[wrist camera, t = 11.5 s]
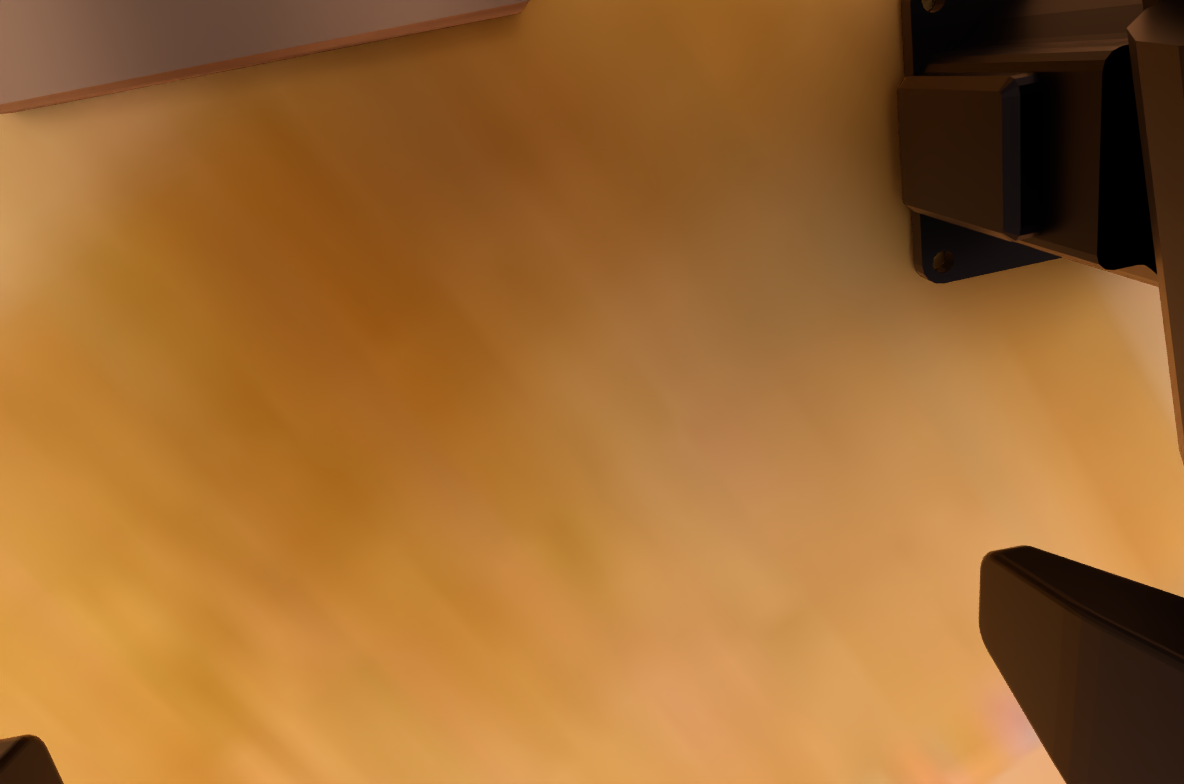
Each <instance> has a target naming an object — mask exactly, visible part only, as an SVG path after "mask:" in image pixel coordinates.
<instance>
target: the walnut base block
mask: <svg viewBox="0 0 1184 784" xmlns="http://www.w3.org/2000/svg"><path fill="white" fill-rule="evenodd" d="M528 2H529V0H0V114H3V113H13V112H18V111H24V110H29V109H34V108H39V107H44V106H49V105H54V104H59V103H64V102H69V101H74V100H80V99H85V98H90V97H95V96H100V95H105V94H110V93H115V92H120V91H125V90H130V89H136V88H141V87H146V86H151V85H156V84H161V83H166V82H171V81H176V80H181V79H186V78H192V77H197V76H202V75H207V74H212V73H217V72H222V71H227V70H232V69H237V68H242V67H248V66H253V65H258V64H263V63H268V62H273V61H278V60H283V59H288V58H293V57H298V56H304V55H309V54H314V53H319V52H324V51H329V50H334V49H339V48H344V47H349V46H354V45H360V44H365V43H370V42H375V41H380V40H385V39H390V38H395V37H400V36H405V35H410V34H416V33H421V32H426V31H431V30H436V29H441V28H446V27H451V26H456V25H461V24H466V23H472V22H477V21H482V20H487V19H492V18H497V17H502V16H507V15H512V14H517V13H521V11H522V10H523V8H524V7H525V6H526V4H527V3H528Z"/></svg>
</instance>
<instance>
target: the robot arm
mask: <svg viewBox="0 0 1184 784" xmlns="http://www.w3.org/2000/svg"><path fill="white" fill-rule="evenodd" d="M901 13H902V33H903V53H904V73H905V78H904V80H903V81H902V83H901V84H900V86H899V88H898V90H897V104H898V123H899V142H900V161H901V180H902V199H903V203H904V204H905V205H906V206H908V207H909V208H910V209H911V214H912V234H913V254H914V265H915V269H916V271H917V273H918V274H919V275H920V276H921V277H923V278H925V279H927V280H930V281H932V282H934V283H948V282H952V281H957V280H961V279H966V278H970V277H975V276H980V275H984V274H989V273H993V272H998V271H1002V270H1007V269H1012V268H1016V267H1021V266H1025V265H1030V264H1034V263H1039V262H1044V261H1048V260H1053V259H1057V258H1062V257H1064V258H1067V259H1070V260H1073V261H1076V262H1080V263H1083V264H1086V265H1089V266H1093V267H1096V268H1099V269H1102V270H1105V271H1109V272H1112V273H1115V274H1118V275H1122V276H1125V277H1128V278H1131V279H1134V280H1138V281H1141V282H1144V283H1147V284H1151V285H1154V286H1157V287H1159V292H1160V300H1161V308H1162V316H1163V324H1164V332H1165V340H1166V348H1167V356H1168V364H1169V372H1170V380H1171V388H1172V396H1173V404H1174V412H1175V420H1176V428H1177V436H1178V444H1179V451H1180V454H1181V458H1182V461H1183V464H1184V0H936V2H935V6H934V7H933V8H932V10H931V11H929V12H928V11H926V10H925V9H924V8H923V5H922V0H902V2H901ZM942 251H944V253H945V261H944V263H943V264H942V265H941V267H939V268H937V269H934V267H933V260H934V257H935V256H936V255H937V254H938V253H940V252H942ZM979 628H980V633H981V636H982V640H983V642H984V645H985V647H986V649H987V650H988V652H989V654H990V656H991V657H992V659H993V661H994V662H995V664H996V666H997V668H998V669H999V671H1000V673H1001V674H1002V676H1003V678H1004V679H1005V681H1006V683H1007V685H1008V686H1009V688H1010V690H1011V691H1012V693H1013V695H1014V697H1015V698H1016V700H1017V702H1018V703H1019V705H1020V707H1021V708H1022V710H1023V712H1024V714H1025V715H1026V717H1027V719H1028V720H1029V722H1030V724H1031V726H1032V727H1033V729H1034V731H1035V732H1036V734H1037V736H1038V738H1039V739H1040V741H1041V743H1042V744H1043V746H1044V748H1045V749H1046V751H1047V753H1048V755H1049V756H1050V758H1051V760H1052V761H1053V763H1054V765H1055V766H1056V768H1057V769H1058V771H1059V773H1060V774H1061V776H1062V777H1063V779H1064V781H1065V782H1066V784H1184V598H1183V597H1180V596H1177V595H1174V594H1172V593H1169V592H1166V591H1163V590H1160V589H1157V588H1154V587H1151V586H1148V585H1145V584H1142V583H1139V582H1136V581H1133V580H1130V579H1127V578H1124V577H1121V576H1118V575H1115V574H1112V573H1109V572H1106V571H1103V570H1100V569H1097V568H1094V567H1091V566H1088V565H1085V564H1082V563H1079V562H1076V561H1073V560H1070V559H1067V558H1064V557H1061V556H1058V555H1055V554H1052V553H1049V552H1046V551H1043V550H1040V549H1037V548H1034V547H1031V546H1016V547H1011V548H1006V549H1001V550H995V551H991V552H989V553H987V554H986V555H985V556H984V557H983V560H982V562H981V568H980V597H979ZM0 784H64V783H63V781H62V779H61V777H60V775H59V773H58V770H57V768H56V766H55V764H54V762H53V760H52V758H51V755H50V753H49V751H48V749H47V747H46V745H45V744H44V742H43V741H42V740H41V739H40V738H39V737H37V736H34V735H22V736H17V737H11V738H6V739H1V740H0Z"/></svg>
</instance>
